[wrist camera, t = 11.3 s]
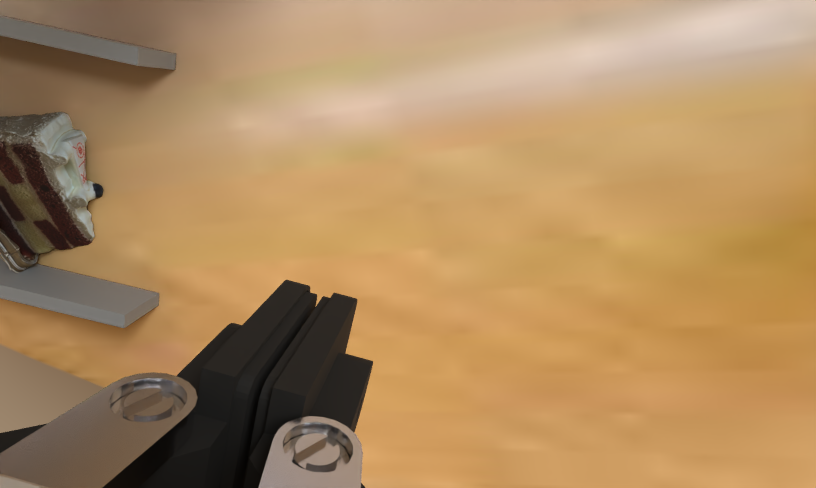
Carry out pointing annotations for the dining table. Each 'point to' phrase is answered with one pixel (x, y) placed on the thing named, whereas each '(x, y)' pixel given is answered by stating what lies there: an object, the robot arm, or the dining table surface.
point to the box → (59, 285)
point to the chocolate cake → (42, 188)
